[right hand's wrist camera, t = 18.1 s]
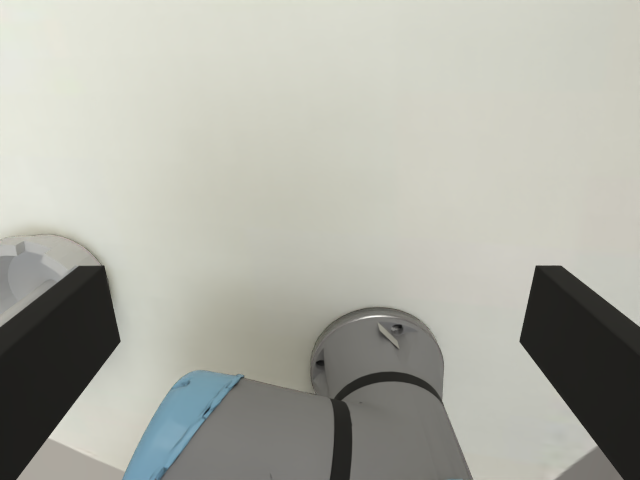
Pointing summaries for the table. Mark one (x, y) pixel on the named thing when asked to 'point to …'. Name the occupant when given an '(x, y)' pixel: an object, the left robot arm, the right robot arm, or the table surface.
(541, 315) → the right robot arm
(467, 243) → the table surface
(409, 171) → the table surface
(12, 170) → the table surface
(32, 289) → the flag stand
